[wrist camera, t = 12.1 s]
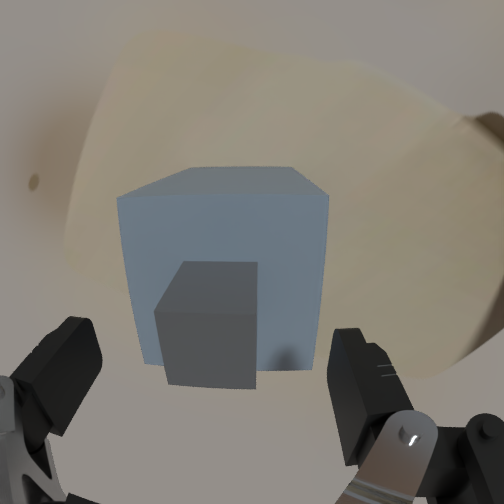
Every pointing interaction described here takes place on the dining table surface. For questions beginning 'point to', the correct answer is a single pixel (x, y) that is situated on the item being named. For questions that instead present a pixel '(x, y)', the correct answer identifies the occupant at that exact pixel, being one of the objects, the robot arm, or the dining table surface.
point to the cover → (225, 272)
